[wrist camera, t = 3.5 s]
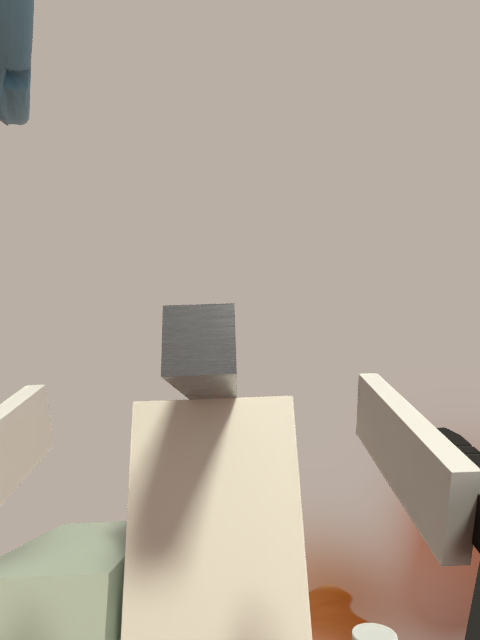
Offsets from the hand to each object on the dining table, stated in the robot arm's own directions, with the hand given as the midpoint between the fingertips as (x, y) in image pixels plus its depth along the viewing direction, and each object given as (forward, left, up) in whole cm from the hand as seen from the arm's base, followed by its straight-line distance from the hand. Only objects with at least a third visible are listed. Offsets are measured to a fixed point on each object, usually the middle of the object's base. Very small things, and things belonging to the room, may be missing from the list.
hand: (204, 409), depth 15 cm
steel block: (-5, +16, +2) cm, 16 cm away
